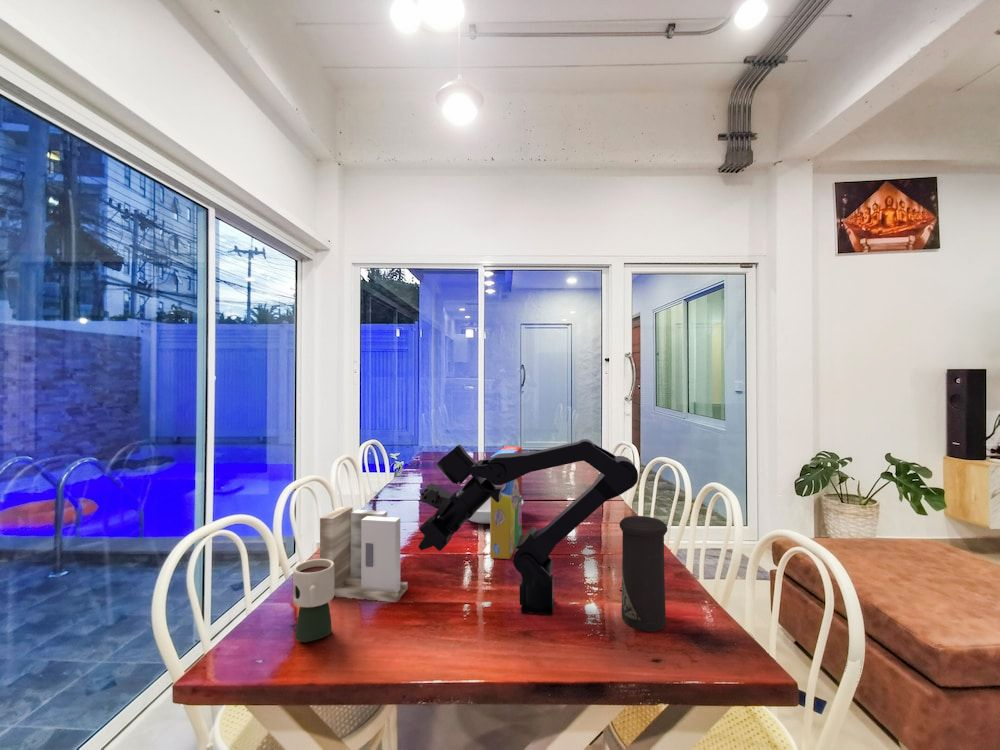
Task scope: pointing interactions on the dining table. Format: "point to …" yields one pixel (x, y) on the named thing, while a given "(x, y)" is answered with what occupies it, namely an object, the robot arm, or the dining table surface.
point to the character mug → (313, 598)
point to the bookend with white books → (349, 553)
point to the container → (643, 573)
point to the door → (380, 554)
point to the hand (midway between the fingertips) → (420, 548)
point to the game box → (506, 515)
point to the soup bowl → (483, 513)
